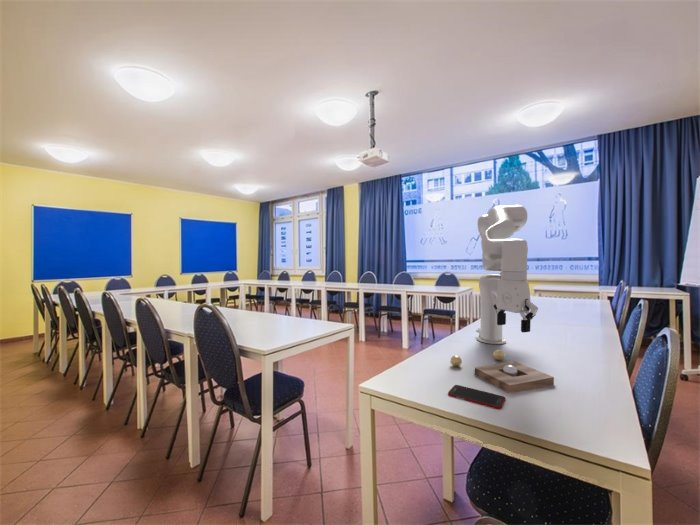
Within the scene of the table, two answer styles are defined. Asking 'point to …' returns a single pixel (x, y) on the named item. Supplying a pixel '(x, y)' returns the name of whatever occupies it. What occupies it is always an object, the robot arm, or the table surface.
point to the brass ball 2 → (498, 355)
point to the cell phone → (477, 396)
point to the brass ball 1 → (456, 361)
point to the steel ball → (510, 370)
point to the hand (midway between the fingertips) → (512, 328)
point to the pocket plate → (522, 382)
